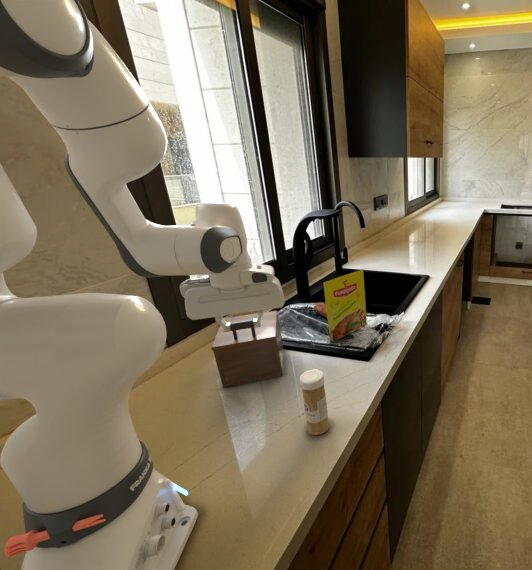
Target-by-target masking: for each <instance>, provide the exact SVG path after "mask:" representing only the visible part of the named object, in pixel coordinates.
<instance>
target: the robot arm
mask: <svg viewBox="0 0 532 570" xmlns="http://www.w3.org/2000/svg"><path fill="white" fill-rule="evenodd" d="M0 78H8V79H9V80H11V81H12V82H14V83H15V84H16V85H17V86H19V87H20V88H21V89H22V90H23V91H24V92H25V94H26V95H27V96H28V97H29V100H30V101H31V102H32V103H33V104H34V106H35V107H36V108H37V109H38V110H39V112H40V113H41V114H42V116H43V117H44V118H45V119H46V121H47V122H48V123H49V124H50V125H51V126H52V128H53V129H54V130H55V131H56V133H57V134H58V136H59V137H60V139H61V140H62V142H63V144H64V145H65V148H66V151H65V153H64V156H63V162H64V166H65V169H66V172H67V174H68V176H69V178H70V181H72V183H73V185H74V186H75V188H76V189H77V191H78V192H79V194H80V195H81V197H82V198H83V200H84V202H85V203H86V204H87V205H88V207H89V208H90V210H91V211H92V212H93V214H94V216H96V218H97V219H98V221H99V222H100V224H101V225H102V226H103V228H104V229H105V231H106V232H107V233H108V236H110V238H111V239H112V241H113V242H114V244H115V246H116V248H117V251H118V254H119V256H120V258H121V260H122V262H123V264H124V265H125V266H126V267H127V268H128V269H129V270H130V271H132V272H133V273H134V274H136V275H137V276H139V277H143V278H146V279H147V278H149V279H150V278H161V277H169V276H205V275H206V276H205V277H198V278H188V279H185V281H183V282H181V283H180V284H179V291H180V294H181V296H182V297H183V298H184V305H185V306H184V307H185V312H186V317H187V318H189V319H190V320H192V321H196V320H203V319H210V318H214V319H215V322H217V324H219V326H220V325H221V326H223V329H224V332H229V331H231V329H230V323H231V322H228V323H227V322H226V321H225V320H224V319H223V318H224V317H225V316H231V315H240V314H246V313H253V312H256V313H257V315H258V317H257V318H255V319H254V320H253V324H254V328H255V327H261V318H262V316H263V312H265V311H267V310H273V309H280V308H281V309H282V308H283V307H284V305H285V304H286V303H285V301H286V300H285V294H284V290H283V287H282V285H281V282H280V280H279V278H278V277H276V276H275V269H274V267H273V266H272V265H268V264H262V263H257V262H252V259H251V255H250V254H249V252H248V238H247V233H246V228H245V224H244V222H243V218H242V216H241V212H240V210H239V209H238V207H237V206H236V205H234V204H231V203H227V202H201V203H198V204H196V205H195V219H193V221H192V222H191V223H189V224H187V225H165V224H158V223H155V222H152V221H151V220H148V219H146V217H145V216H144V214H143V213H142V210H141V208H140V207H139V205H138V203H137V202H136V200H135V198H134V197H133V195H132V194H131V192H130V190H129V187H128V186H127V184H128V183H131V182H133V181H135V180H138V179H140V178H142V177H144V176H145V175H147V174H149V173H150V172H151V171H153V170H154V169H155V168H156V167H157V166H158V165H159V164H160V163H161V162H162V161H163V158H164V157H165V155H166V151H167V149H168V148H167V147H168V138H167V134H166V130H165V128H164V126H163V123H162V121H161V119H160V118H159V116H158V114H157V112H156V111H155V109H154V108H153V106H152V104H151V102H150V101H149V100H148V97H147V96H146V94H145V93H144V91H143V90H142V87H141V86H140V84H139V83H138V81H137V80H136V78H135V77H134V76H133V74H132V72H130V70H129V69H128V67H127V66H126V64H125V63H124V61H123V60H122V59H121V57H120V56H119V55H118V54H117V52H116V50H115V49H113V47H112V46H111V44H110V42H108V41H107V40H106V38H105V37H104V35H103V34H102V33H101V32H100V31H99V29H98V28H97V27H96V26H95V25H94V24H93V22H91V21H90V20H89V19H88V17H87V15H86V13H85V10H84V9H83V6H82V4H81V3H80V1H79V0H0ZM37 239H38V228H37V225H36V224H35V222H34V221H33V219H32V216H31V215H30V213H29V211H28V210H27V208H26V206H25V204H24V202H23V200H22V199H21V197H20V195H19V194H18V192H17V189H16V188H15V186H14V185H13V182H12V181H11V179H10V178H9V176H8V174H7V172H6V171H5V169H4V167H3V165H2V163H1V162H0V402H1V401H7V400H13V399H17V400H18V399H19V400H20V399H22V400H26V401H27V402H29V403H30V404H31V405H32V406H33V408H34V410H35V414H34V415H32V416H31V417H29V418H28V419H26V420H25V421H24V422H22V423H21V424H20V425H19V426H17V428H15V429H14V430H13V432H12V433H11V434H10V436H9V437H8V438H7V440H6V441H5V443H4V446H3V448H2V451H1V453H0V467H1V468H2V470H3V471H4V473H5V474H6V476H7V478H8V480H9V481H10V482H11V484H12V485H13V487H14V488H15V490H16V492H17V493H18V495H19V496H20V498H21V500H22V504H21V505H22V516H21V517H22V518H21V519H22V523H23V524H24V531H25V533H20V534H15V535H12V536H11V537H9V538H8V539H7V541H6V543H5V545H4V547H3V549H4V550H3V553H4V556H5V557H6V558H12V557H15V556H18V555H19V554H22V553H25V554H24V557H23V560H22V564H21V567H20V570H175V569H176V567H177V565H178V562H179V560H180V558H181V556H182V553H183V551H184V549H185V547H186V544H187V542H188V540H189V538H190V536H191V534H192V531H193V529H194V527H195V524H196V521H197V520H198V518H199V511H198V510H197V508H195V507H194V506H192V505H187V504H185V503H184V501H183V499H182V497H181V496H180V494H183V495H184V496H188V495H189V492H188V490H186V489H185V488H182V487H181V486H179V485H178V484H176V483H175V482H173V481H172V480H170V478H169V477H167V476H165V475H163V474H162V473H160V472H159V471H158V470H156V469H155V468H154V462H153V460H152V455H151V453H150V450H149V449H148V447H147V446H146V444H145V443H144V441H142V440H140V439H139V437H138V434H137V431H136V429H135V426H134V423H133V419H132V417H131V413H130V408H129V398H130V394H131V391H132V388H133V387H134V385H135V383H136V382H137V381H138V380H139V379H140V377H141V376H142V375H143V374H145V373H146V372H148V371H149V370H150V369H151V368H152V367H153V366H154V365H155V363H156V362H157V361H158V360H159V358H160V357H161V355H162V353H163V351H164V349H165V345H166V342H167V326H166V323H165V320H164V318H163V315H162V313H160V311H159V310H158V308H156V306H154V304H152V303H151V302H150V301H149V300H147V299H145V298H144V297H142V296H139V295H130V294H121V293H119V294H118V293H106V292H105V293H104V292H82V293H81V292H80V293H68V294H58V295H46V296H44V295H43V296H34V297H33V296H32V297H18V296H17V295H15V294H13V293H12V292H11V290H10V289H9V287H8V285H7V283H6V280H5V276H4V272H5V271H7V270H9V269H11V268H12V267H14V266H16V265H17V264H19V263H21V262H22V261H24V259H25V258H27V256H29V254H30V253H31V252H32V251H33V249H34V247H35V245H36V243H37ZM207 275H208V276H207ZM256 313H255V314H256ZM179 493H180V494H179Z"/></svg>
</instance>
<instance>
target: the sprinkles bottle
mask: <svg viewBox="0 0 532 570" xmlns="http://www.w3.org/2000/svg"><path fill="white" fill-rule="evenodd" d="M299 386H300V388H301V391H302V398H303V407H304V413H305V414H304V415H305V419H306V426H307V427H306V429H307V432H308V434H309V435H312V436H319V435H322V434H324V433H326V432H327V431H328V429H329V428H330V421H329V415H328V414H329V412H328V404H327V403H328V402H327V395H326V389H325V375H324V371H322V370H320V369H317V368H316V369H314V368H313V369H308V370H305V371H304V372H302V374H300V376H299Z"/></svg>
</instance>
